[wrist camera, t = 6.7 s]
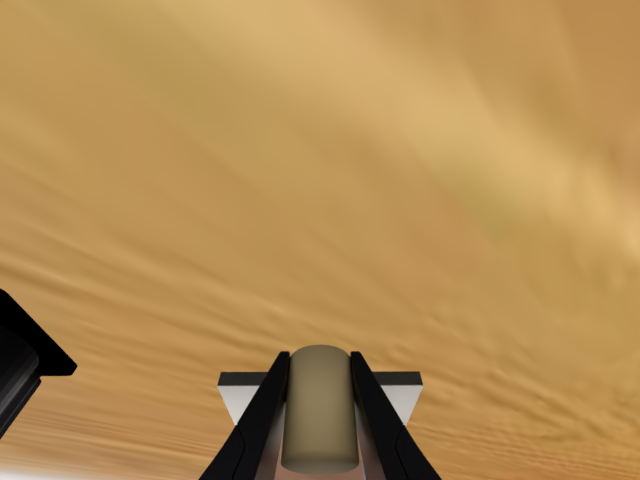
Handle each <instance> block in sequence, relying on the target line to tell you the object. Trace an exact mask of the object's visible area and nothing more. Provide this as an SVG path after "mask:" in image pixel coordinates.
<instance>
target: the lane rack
mask: <svg viewBox="0 0 640 480" xmlns="http://www.w3.org/2000/svg"><path fill="white" fill-rule="evenodd" d="M372 372H373V374H374V376H375V377H376V379H377V380H378V382H379V384H380V385H381V387H382V389H383V390H384V392H385V394H386V395H387V397H388V399H389V400H390V402H391V404H392V405H393V407H394V409H395V410H396V412H397V414H398V415H399V417H400V419H401V420H402V422H403V425H405V427H406V425H407V422H408V420H409V418H410V416H411V413H412V411H413V409H414V406H415V404H416V402H417V400H418V397H419V395H420V393H421V390H422V388H423V382H422V378H421V375H420V371H372ZM267 373H268V372H221V373H220V377H219V381H218V385H217V387H218V390H219V392H220V394H221V396H222V398H223V401H224V403H225V405H226V407H227V409H228V412H229V414H230V416H231V418H232V420H233V422H234V425H237V422H238V421H239V419H240V417H241V416H242V414H243V412H244V411H245V409H246V407H247V406H248V404H249V402H250V401H251V399H252V397H253V396H254V394H255V392H256V391H257V389H258V388H259V386H260V384H261V383H262V381H263V379H264V378H265V376H266V374H267ZM362 465H363V461H362ZM363 476H364V480H366V477H365V471H364V466H363Z"/></svg>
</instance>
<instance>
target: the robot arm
mask: <svg viewBox="0 0 640 480" xmlns="http://www.w3.org/2000/svg"><path fill="white" fill-rule="evenodd" d="M350 360H351V372H352V383H353V393H354V404H355V416H356V428H357V433H358V439H359V444H360V450H361V455H362V461H363V466H364V471H365V477H366V480H442V479H441V477H440V476H439V475H438V473H437V472H436V471H435V469H434V468H433V467H432V465H431V464H430V463H429V461H428V460H427V459H426V457H425V456H424V454H423V453H422V451H421V450H420V449H419V447H418V446H417V444H416V443H415V441H414V440H413V438H412V436H411V435H410V433H409V432H408V430H407V428H406V427H405V425H403V422H402V420H401V419H400V417H399V415H398V414H397V412H396V410H395V409H394V407H393V405H392V404H391V402H390V400H389V399H388V397H387V395H386V394H385V392H384V390H383V389H382V387H381V385H380V384H379V382H378V380H377V379H376V377H375V376H374V374H373V372H372V371H371V369H370V367H369V366H368V364H367V362H366V361H365V359H364V357H363V356H362V354H361V352H359V351H351V352H350ZM289 362H290V352H289V351H281V352H280V353H279V354H278V356H277V358H276V359H275V361H274V363H273V364H272V366H271V368H270V369H269V371H268V373H267V374H266V376H265V378H264V379H263V381H262V383H261V384H260V386H259V388H258V389H257V391H256V392H255V394H254V396H253V397H252V399H251V401H250V402H249V404H248V406H247V407H246V409H245V411H244V412H243V414H242V416H241V417H240V419H239V421H238V422H237V425H235V427H234V429H233V430H232V432H231V434H230V435H229V437H228V438H227V440H226V441H225V443H224V445H223V446H222V448H221V449H220V450H219V452H218V453H217V455H216V456H215V457H214V459H213V460H212V462H211V463H210V464H209V466H208V467H207V468H206V470H205V471H204V472H203V474H202V475H201V476H200V478H199V479H198V480H274V478H275V473H276V467H277V462H278V456H279V451H280V445H281V440H282V434H283V429H284V420H285V408H286V396H287V386H288V374H289ZM77 366H78V365H77V364H76V363H75V362H74V361H73V360H72V359H71V358H70V357H69V356H68V355H67V354H66V352H65V351H64V350H63V349H62V348H61V347H60V346H59V345H58V344H57V343H56V342H55V341H54V340H53V339H52V338H51V337H50V336H49V335H48V334H47V333H46V332H45V331H44V330H43V329H42V328H41V327H40V326H39V325H38V324H37V323H36V322H35V321H34V320H33V318H32V317H31V316H30V315H29V314H28V313H27V312H26V311H25V310H24V309H23V308H22V307H21V306H20V305H19V304H18V303H17V302H16V301H15V300H14V299H13V298H12V297H11V296H10V295H9V294H8V293H7V292H6V291H4V290H3V289H1V288H0V439H1V438H2V437H3V435H4V434H5V432H6V431H7V430H8V428H9V427H10V426H11V424H12V423H13V421H14V420H15V419H16V417H17V416H18V415H19V413H20V412H21V410H22V409H23V408H24V406H25V405H26V403H27V402H28V401H29V399H30V398H31V397H32V395H33V394H34V392H35V391H36V390H37V388H38V387H39V386H40V384H41V382H42V381H41V379H40V377H41V376H71V375H73V373H74V372H75V370H76V368H77Z"/></svg>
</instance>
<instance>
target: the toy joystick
mask: <svg viewBox="0 0 640 480" xmlns="http://www.w3.org/2000/svg"><path fill="white" fill-rule="evenodd" d="M274 480H364V476H363V465H362V455H361V450H360V444H359V439H358V433H357V428H356V416H355V404H354V393H353V383H352V372H351V360H350V356H349V355H348V354H347V353H346V352H345V351H344V350H342V349H340V348H338V347H335V346H330V345H310V346H306V347H303V348H300V349H298V350H296V351H295V352H294V353H293V354H292V355H291V357H290V362H289V374H288V386H287V396H286V408H285V420H284V429H283V434H282V440H281V445H280V451H279V456H278V462H277V467H276V473H275V478H274Z"/></svg>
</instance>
